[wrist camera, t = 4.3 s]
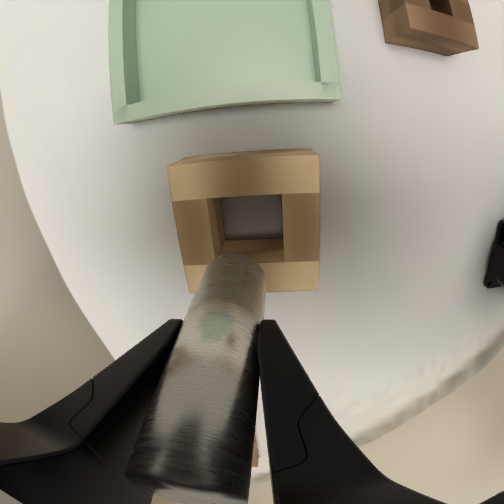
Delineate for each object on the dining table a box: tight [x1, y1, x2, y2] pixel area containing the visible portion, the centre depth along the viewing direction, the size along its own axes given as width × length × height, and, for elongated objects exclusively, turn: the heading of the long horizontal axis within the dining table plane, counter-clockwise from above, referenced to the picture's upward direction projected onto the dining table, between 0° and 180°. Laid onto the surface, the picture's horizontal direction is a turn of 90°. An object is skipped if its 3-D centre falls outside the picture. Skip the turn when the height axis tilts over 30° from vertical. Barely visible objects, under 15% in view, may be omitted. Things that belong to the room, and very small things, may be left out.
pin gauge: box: [125, 253, 266, 504], centre depth 7 cm, size 2×2×8 cm
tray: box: [109, 0, 341, 125], centre depth 12 cm, size 13×13×2 cm
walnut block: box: [378, 0, 479, 56], centre depth 10 cm, size 5×5×4 cm
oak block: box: [167, 149, 320, 293], centre depth 17 cm, size 8×8×4 cm
